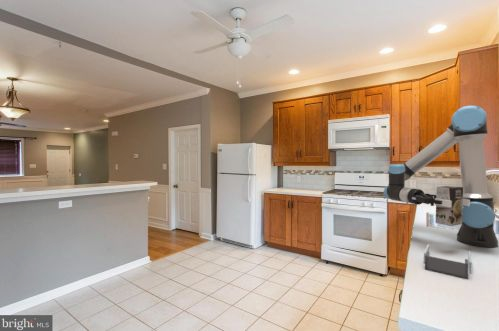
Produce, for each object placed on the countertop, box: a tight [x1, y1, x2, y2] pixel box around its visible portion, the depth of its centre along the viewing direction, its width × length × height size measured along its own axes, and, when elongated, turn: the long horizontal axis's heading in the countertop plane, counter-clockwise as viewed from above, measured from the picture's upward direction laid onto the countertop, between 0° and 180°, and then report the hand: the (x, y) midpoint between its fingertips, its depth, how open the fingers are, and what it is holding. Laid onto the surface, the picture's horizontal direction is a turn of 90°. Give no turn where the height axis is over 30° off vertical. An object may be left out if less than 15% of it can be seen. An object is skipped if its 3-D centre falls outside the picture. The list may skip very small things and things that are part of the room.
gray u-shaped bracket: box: [423, 243, 472, 280], centre depth 98 cm, size 20×14×5 cm
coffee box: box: [435, 185, 463, 227], centre depth 111 cm, size 9×6×16 cm
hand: (460, 203), depth 106 cm, fingers closed on coffee box, 10 cm apart
